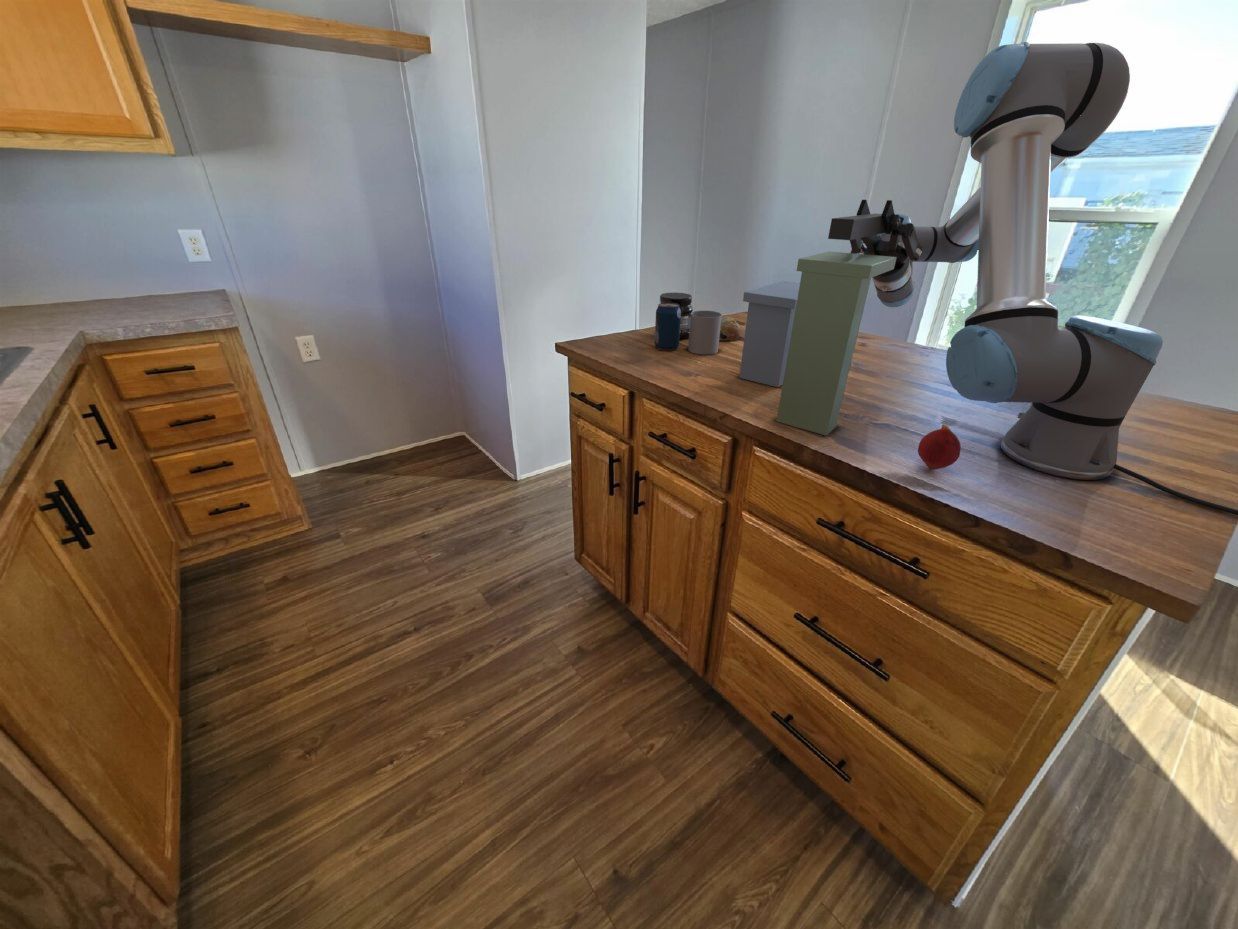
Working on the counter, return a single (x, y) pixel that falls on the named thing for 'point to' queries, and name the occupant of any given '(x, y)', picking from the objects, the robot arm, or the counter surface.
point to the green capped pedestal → (825, 336)
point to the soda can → (667, 326)
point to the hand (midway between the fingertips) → (873, 207)
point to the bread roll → (729, 329)
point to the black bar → (856, 227)
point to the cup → (704, 332)
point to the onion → (939, 448)
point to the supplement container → (685, 307)
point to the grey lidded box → (768, 332)
